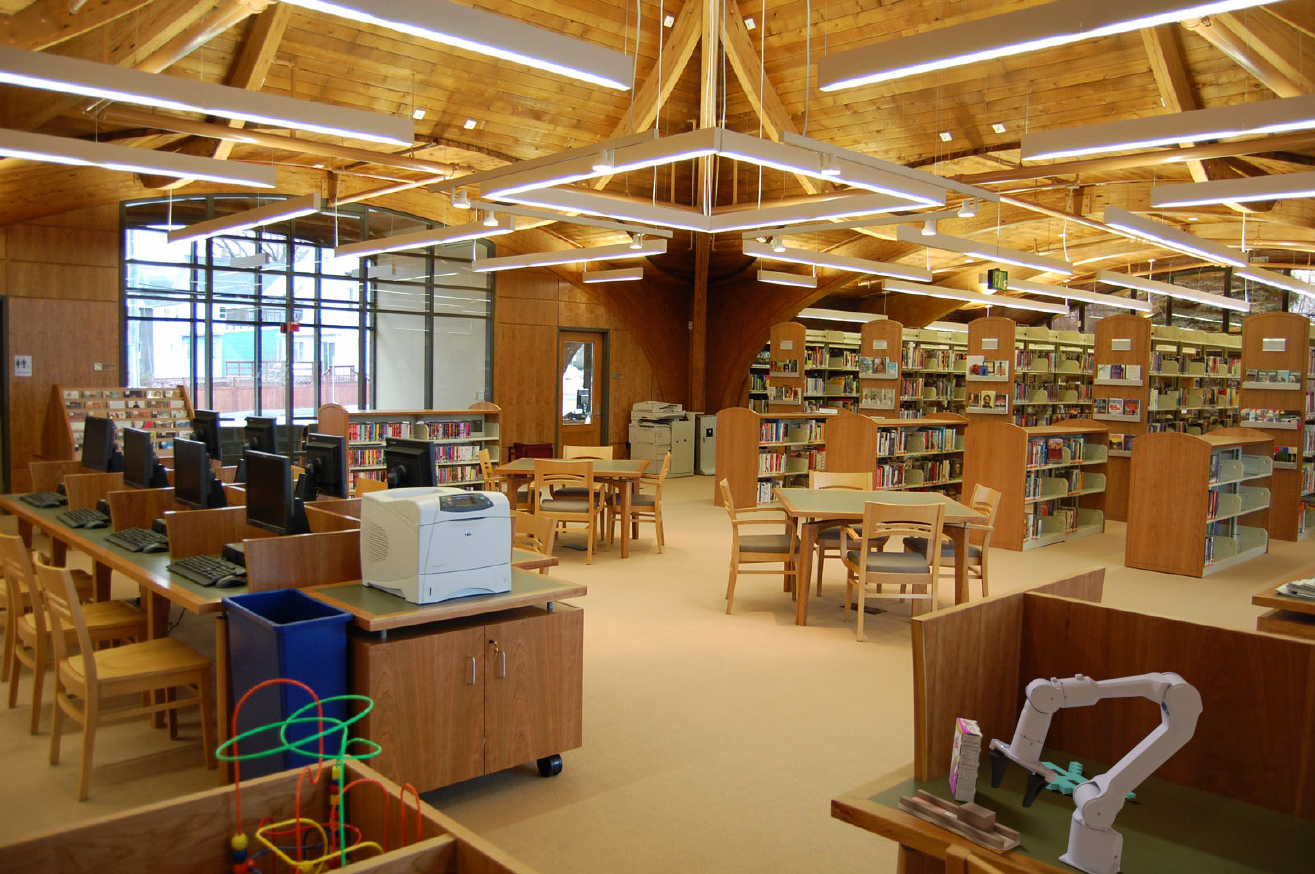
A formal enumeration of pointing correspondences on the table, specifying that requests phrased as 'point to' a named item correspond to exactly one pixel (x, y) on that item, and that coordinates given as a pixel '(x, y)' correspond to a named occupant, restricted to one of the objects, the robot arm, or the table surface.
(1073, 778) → the alien figure
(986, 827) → the walnut block
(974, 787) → the candy bar box
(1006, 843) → the chute
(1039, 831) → the table surface
